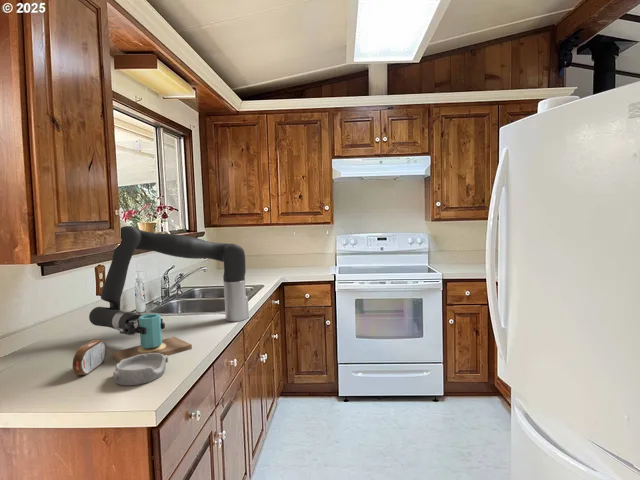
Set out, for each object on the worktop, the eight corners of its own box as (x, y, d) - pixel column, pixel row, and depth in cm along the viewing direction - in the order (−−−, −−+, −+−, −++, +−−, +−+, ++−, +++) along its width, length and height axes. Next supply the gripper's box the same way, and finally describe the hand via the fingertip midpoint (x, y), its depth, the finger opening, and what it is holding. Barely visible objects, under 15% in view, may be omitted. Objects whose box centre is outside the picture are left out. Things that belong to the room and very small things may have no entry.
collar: (154, 340, 146) (152, 312, 145) (165, 343, 142) (163, 315, 141) (137, 345, 141) (135, 317, 140) (148, 349, 137) (146, 319, 136)
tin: (99, 361, 136) (97, 336, 135) (108, 360, 136) (106, 335, 135) (72, 380, 121) (70, 352, 120) (83, 379, 121) (80, 351, 120)
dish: (170, 366, 129) (169, 350, 128) (160, 384, 115) (158, 367, 115) (122, 370, 127) (120, 354, 126) (105, 390, 113) (103, 372, 113)
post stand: (174, 340, 154) (172, 312, 153) (191, 348, 144) (189, 318, 143) (111, 357, 139) (108, 326, 138) (126, 367, 129) (123, 333, 128)
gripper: (107, 316, 143) (133, 323, 133) (145, 307, 155) (172, 312, 145) (109, 337, 144) (135, 345, 134) (147, 327, 155) (173, 333, 146)
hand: (154, 328), depth 139 cm, fingers closed on collar, 6 cm apart
